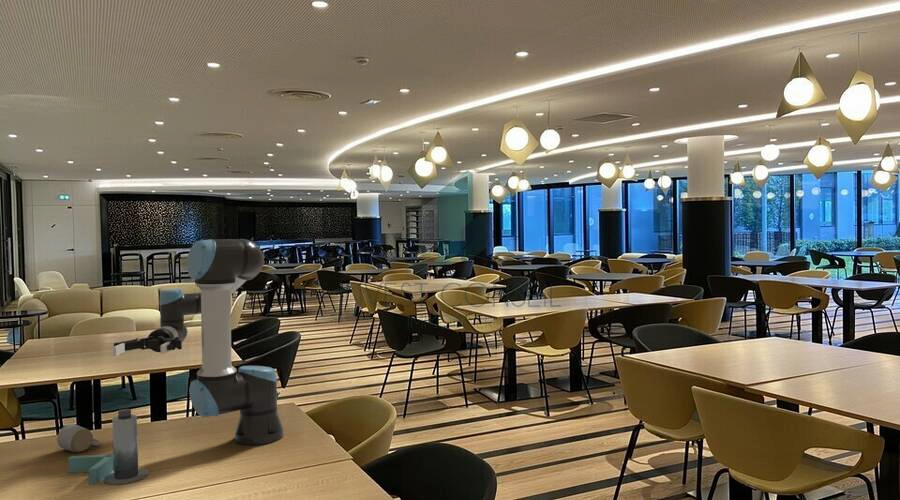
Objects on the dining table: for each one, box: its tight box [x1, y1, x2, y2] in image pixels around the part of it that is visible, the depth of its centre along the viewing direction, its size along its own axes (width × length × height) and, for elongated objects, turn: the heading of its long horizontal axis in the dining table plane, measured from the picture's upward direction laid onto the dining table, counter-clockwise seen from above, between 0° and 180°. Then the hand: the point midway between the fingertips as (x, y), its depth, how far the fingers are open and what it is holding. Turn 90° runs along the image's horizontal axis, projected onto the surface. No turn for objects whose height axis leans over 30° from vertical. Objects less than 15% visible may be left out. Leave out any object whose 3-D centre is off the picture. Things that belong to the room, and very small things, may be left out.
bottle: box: [111, 408, 139, 480], centre depth 180 cm, size 6×6×18 cm
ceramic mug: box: [56, 423, 100, 453], centre depth 205 cm, size 11×8×8 cm
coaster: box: [103, 467, 149, 486], centre depth 180 cm, size 11×11×1 cm
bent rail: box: [67, 453, 114, 485], centre depth 181 cm, size 12×12×4 cm
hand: (138, 350), depth 195 cm, fingers open, 13 cm apart
